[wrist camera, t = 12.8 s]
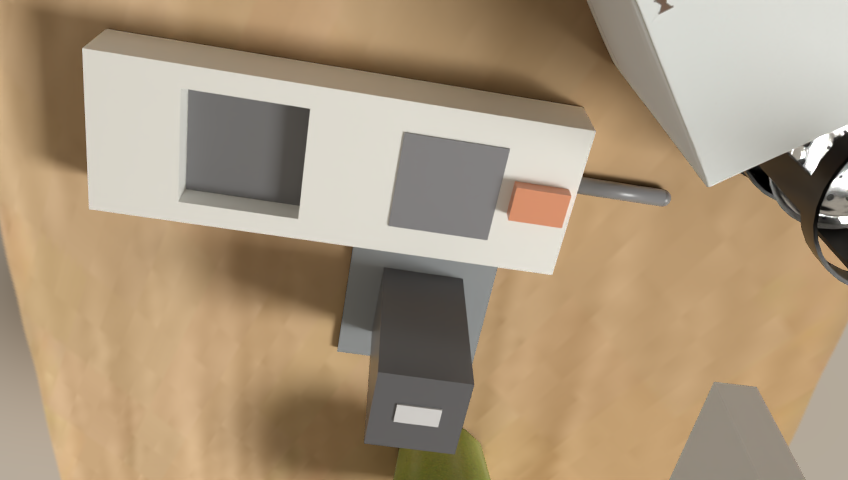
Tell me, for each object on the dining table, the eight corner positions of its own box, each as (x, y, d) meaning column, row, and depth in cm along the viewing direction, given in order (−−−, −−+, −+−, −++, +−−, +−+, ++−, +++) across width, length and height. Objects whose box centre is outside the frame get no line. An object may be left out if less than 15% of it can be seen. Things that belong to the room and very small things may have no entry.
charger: (383, 267, 49) (377, 373, 40) (462, 278, 49) (474, 386, 40) (371, 331, 51) (363, 444, 42) (447, 341, 52) (454, 455, 43)
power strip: (106, 28, 41) (76, 52, 38) (693, 125, 45) (719, 156, 41) (110, 180, 46) (83, 216, 42) (644, 258, 49) (663, 297, 45)
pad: (355, 231, 48) (355, 234, 47) (499, 252, 49) (500, 255, 48) (337, 347, 52) (337, 351, 52) (470, 364, 53) (470, 368, 53)
